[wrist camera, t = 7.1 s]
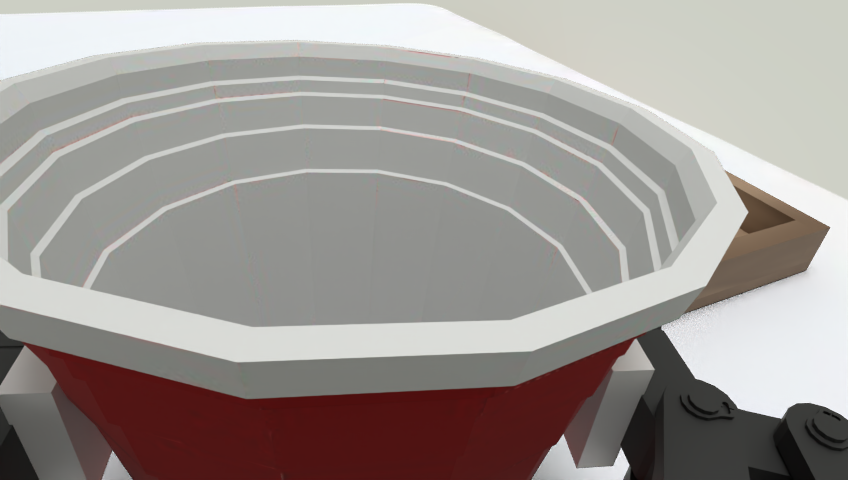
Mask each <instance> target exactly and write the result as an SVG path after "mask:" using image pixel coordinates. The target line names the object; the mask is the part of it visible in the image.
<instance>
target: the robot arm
mask: <svg viewBox="0 0 848 480" xmlns="http://www.w3.org/2000/svg"><path fill="white" fill-rule="evenodd" d="M563 434H564V436H565V439H566V441H567V444H568V447H569V449H570V452H571V455H572V457H573V460H574V463H575V465H576V468H589V467H605V466H613V465H614V462H615V460H616V458H617V456H618V453H619V451H620V449H621V448H622V450H623V452H624V454H625V456H626V458H627V461H628V463H629V465H630V466H629V468H628V470H627V472H626V475H625V477H624V479H623V480H848V420H847V419H846V418H844V417H843V416H842V415H840V414H838V413H836V412H834V411H832V410H830V409H828V408H826V407H823V406H819V405H815V404H811V403H798V404H795V405H793V406H792V407H790V408H788V410H787V411H786V413H785V414H784V416H783V417H782V419H780V418H775V417H771V416H766V415H762V414H757V413H753V412H748V411H744V410H741V409H737V406H736V405H735V404H734V402H733V401H732V400H731V399H730V398H729V397H728V395H726V394H725V393H724V392H722V391H721V390H719V389H718V388H717V387H715V386H713V385H711V384H709V383H706V382H704V381H701V380H697V379H695V377H694V376H693V374H692V373H691V371H690V370H689V368H688V367H687V365H686V364H685V362H684V361H683V359H682V358H681V356H680V355H679V353H678V352H677V350H676V349H675V347H674V346H673V344H672V343H671V341H670V340H669V338H668V337H667V335H666V333H665V332H664V331H662V330H661V326H660V327H657V328H655V329H652V330H650V331H647V333H646V334H645V335H643V336H641V337H639V338H636V339H635V340H634V341H633V343H632V344H631V346H630V347H629V349H628V350H627V352H626V353H625V355H623V356H620V357H618V359H617V360H616V362H615V363H614V365H613V366H612V368H611V369H610V371H609V372H608V374H607V375H606V377H605V378H604V380H603V381H602V383H601V384H600V385H599V387H598V388H597V390H596V391H595V393H594V394H593V396H591V397H589V398H587V400H586V401H585V403H584V404H583V405H582V407H581V408H580V410H579V411H578V413H577V414H576V416H575V417H574V419H573V420H572V422H571V423H570V425H569V426H568V427H567V429H566V430H565V432H564V433H563ZM111 452H112V448H111V447H110V446H109V444H108V443H107V441H106V440H105V438H104V437H103V435H102V434H101V433H100V431H99V430H98V428H97V427H96V425H95V424H94V423H92V422H91V421H90V420H89V419H88V418H87V417H86V416H85V415H84V414H83V413H82V412H81V411H80V410H79V409H78V408H77V407H76V406H75V405H74V404H73V403H72V402H71V401H70V400H69V399H68V398H67V397H66V395H65V394H64V392H63V390H62V389H61V387H60V386H59V384H58V383H57V381H56V379H55V378H54V376H53V375H52V373H51V371H50V370H49V368H48V367H47V365H46V364H44V363H43V362H42V361H41V360H40V359H39V358H38V357H37V356H36V355H35V354H34V353H33V352H32V351H31V350H30V349H28V348H27V347H26V346H25V345H24V344H23V343H22V342H21V341H18V340H14V339H10V338H8V337H7V336H6V335H5V334H4V333H3V332H2V331H1V330H0V480H101V479H102V477H103V474H104V471H105V469H106V466H107V463H108V460H109V458H110V455H111Z"/></svg>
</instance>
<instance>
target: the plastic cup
mask: <svg viewBox="0 0 848 480" xmlns="http://www.w3.org/2000/svg"><path fill="white" fill-rule="evenodd" d="M747 214H748V211H747V209H746V207H745V205H744V204H743V202H742V200H741V198H740V197H739V195H738V193H737V191H736V190H735V188H734V186H733V184H732V183H731V181H730V179H729V177H728V176H727V174H726V172H725V170H724V169H723V167H722V165H721V163H720V162H719V160H718V158H717V156H716V155H715V153H714V152H713V151H711V150H709V149H708V148H706V147H705V146H703V145H702V144H700V143H699V142H697V141H695V140H694V139H692V138H691V137H689V136H688V135H686V134H685V133H683V132H681V131H680V130H678V129H677V128H675V127H674V126H672V125H671V124H669V123H668V122H666V121H664V120H663V119H661V118H660V117H658V116H657V115H655V114H654V113H652V112H650V111H649V110H647V109H645V108H642V107H640V106H637V105H634V104H632V103H629V102H626V101H624V100H621V99H618V98H616V97H613V96H610V95H608V94H605V93H603V92H600V91H597V90H595V89H592V88H589V87H587V86H584V85H581V84H579V83H576V82H573V81H571V80H568V79H565V78H561V77H557V76H552V75H548V74H544V73H540V72H536V71H531V70H527V69H523V68H519V67H515V66H510V65H506V64H502V63H498V62H494V61H489V60H485V59H481V58H475V57H468V56H461V55H454V54H447V53H440V52H432V51H425V50H418V49H411V48H404V47H397V46H389V45H373V44H355V43H338V42H320V41H302V40H279V41H241V42H204V43H190V44H182V45H174V46H166V47H158V48H150V49H142V50H134V51H126V52H118V53H110V54H102V55H94V56H90V57H86V58H82V59H79V60H75V61H71V62H67V63H64V64H60V65H56V66H52V67H48V68H45V69H41V70H37V71H33V72H30V73H26V74H22V75H18V76H15V77H11V78H7V79H3V80H0V330H1V331H2V332H3V333H4V334H5V335H6V336H7V337H8V338H10V339H14V340H18V341H21V342H22V343H23V344H24V345H25V346H26V347H27V348H28V349H30V350H31V351H32V352H33V353H34V354H35V355H36V356H37V357H38V358H39V359H40V360H41V361H42V362H43V363H44V364H46V365H47V367H48V368H49V370H50V371H51V373H52V375H53V376H54V378H55V379H56V381H57V383H58V384H59V386H60V387H61V389H62V390H63V392H64V394H65V395H66V397H67V398H68V399H69V400H70V401H71V402H72V403H73V404H74V405H75V406H76V407H77V408H78V409H79V410H80V411H81V412H82V413H83V414H84V415H85V416H86V417H87V418H88V419H89V420H90V421H91V422H92V423H94V424H95V425H96V427H97V428H98V430H99V431H100V433H101V434H102V435H103V437H104V438H105V440H106V441H107V443H108V444H109V446H110V447H111V448H112V450H113V451H114V453H115V454H116V456H117V457H118V459H119V460H120V462H121V463H122V464H123V466H124V467H125V469H126V470H127V472H128V473H129V475H130V476H131V477H132V479H133V480H531V479H532V477H533V476H534V474H535V472H536V471H537V469H538V468H539V466H540V464H541V463H542V461H543V460H544V458H545V456H546V455H547V453H548V452H549V450H550V448H551V447H552V446H554V445H556V444H557V442H558V441H559V439H560V438H561V436H562V435H563V433H564V432H565V430H566V429H567V427H568V426H569V425H570V423H571V422H572V420H573V419H574V417H575V416H576V414H577V413H578V411H579V410H580V408H581V407H582V405H583V404H584V403H585V401H586V400H587V398H589V397H591V396H593V394H594V393H595V391H596V390H597V388H598V387H599V385H600V384H601V383H602V381H603V380H604V378H605V377H606V375H607V374H608V372H609V371H610V369H611V368H612V366H613V365H614V363H615V362H616V360H617V359H618V357H620V356H623V355H625V353H626V352H627V350H628V349H629V347H630V346H631V344H632V343H633V341H634V340H635V339H636V338H639V337H641V336H643V335H645V334H646V333H647V331H650V330H652V329H655V328H657V327H660V326H662V325H664V324H667V323H669V322H672V321H674V320H677V319H679V318H680V317H681V316H682V314H683V313H684V312H685V311H686V310H687V308H688V307H689V306H690V305H691V304H692V302H693V301H694V300H695V299H696V297H697V296H698V295H699V294H700V293H701V291H702V290H703V289H704V288H705V287H706V285H707V284H708V282H709V280H710V278H711V277H712V275H713V273H714V271H715V270H716V268H717V266H718V264H719V263H720V261H721V259H722V257H723V256H724V254H725V252H726V250H727V249H728V247H729V245H730V243H731V242H732V240H733V238H734V236H735V235H736V233H737V231H738V229H739V228H740V226H741V224H742V222H743V221H744V219H745V217H746V215H747Z"/></svg>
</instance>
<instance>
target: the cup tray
mask: <svg viewBox="0 0 848 480" xmlns="http://www.w3.org/2000/svg"><path fill="white" fill-rule="evenodd" d="M725 172H726V174H727V176H728V177H729V179H730V181H731V183H732V184H733V186H734V188H735V190H736V191H737V193H738V195H739V197H740V198H741V200H742V202H743V204H744V205H745V207H746V209H747V211H748V214H747V215H746V217H745V219H744V221H743V222H742V224H741V226H740V228H739V229H738V231H737V233H736V235H735V236H734V238H733V240H732V242H731V243H730V245H729V247H728V249H727V250H726V252H725V254H724V256H723V257H722V259H721V261H720V263H719V264H718V266H717V268H716V270H715V271H714V273H713V275H712V277H711V278H710V280H709V282H708V284H707V285H706V287H705V288H704V289H703V290H702V291H701V293H700V294H699V295H698V296H697V297H696V299H695V300H694V301H693V302H692V304H691V305H690V306H689V307H688V308H687V310H686V311H685V312H684V313H687V312H689V311H692V310H695V309H698V308H701V307H704V306H706V305H709V304H712V303H715V302H718V301H721V300H723V299H726V298H729V297H732V296H735V295H737V294H740V293H743V292H746V291H749V290H752V289H754V288H757V287H760V286H763V285H766V284H769V283H771V282H774V281H777V280H780V279H783V278H785V277H788V276H791V275H794V274H797V273H800V272H802V271H805V270H807V268H808V266H809V264H810V262H811V261H812V259H813V257H814V255H815V254H816V252H817V250H818V248H819V247H820V245H821V243H822V241H823V239H824V238H825V236H826V234H827V232H828V231H829V229H830V227H829V226H827V225H825V224H823V223H821V222H819V221H817V220H816V219H814V218H812V217H810V216H808V215H806V214H805V213H803V212H801V211H799V210H797V209H795V208H794V207H792V206H790V205H788V204H786V203H784V202H782V201H781V200H779V199H777V198H775V197H773V196H771V195H770V194H768V193H766V192H764V191H762V190H760V189H758V188H757V187H755V186H753V185H751V184H749V183H747V182H746V181H744V180H742V179H740V178H738V177H736V176H734V175H733V174H731V173H729V172H727V171H725ZM684 313H683V314H684Z"/></svg>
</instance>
